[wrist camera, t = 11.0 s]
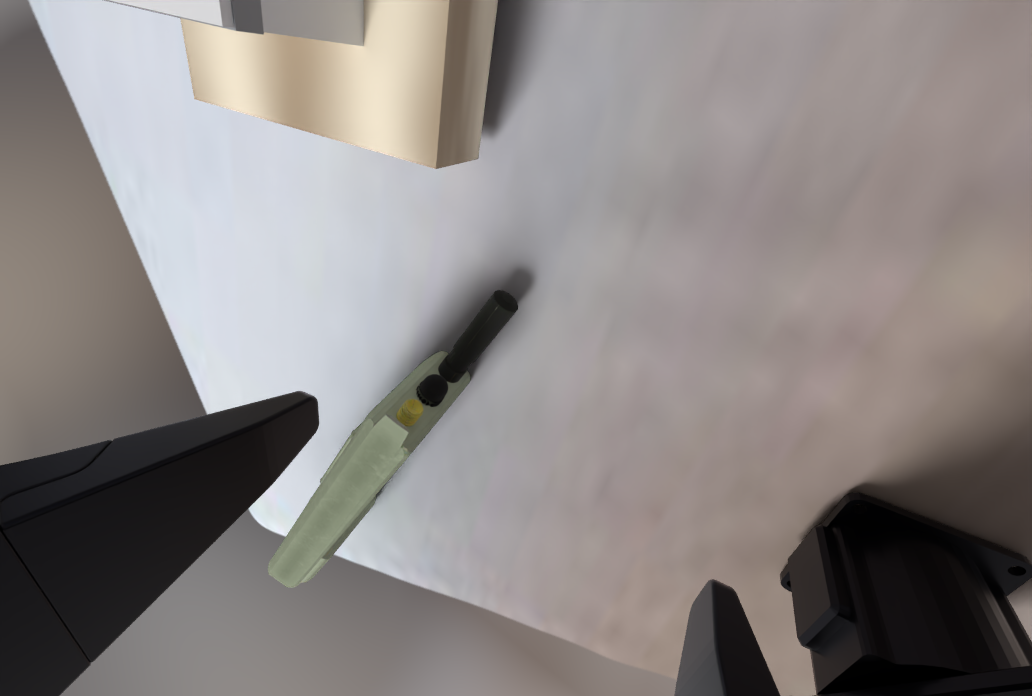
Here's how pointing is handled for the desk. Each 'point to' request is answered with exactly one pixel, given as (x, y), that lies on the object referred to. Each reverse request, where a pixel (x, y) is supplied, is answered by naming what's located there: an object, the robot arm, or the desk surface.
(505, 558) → the desk surface
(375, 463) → the handheld radio
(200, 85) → the cream rectangular block
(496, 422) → the desk surface
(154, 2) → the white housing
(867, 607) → the robot arm
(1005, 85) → the desk surface
